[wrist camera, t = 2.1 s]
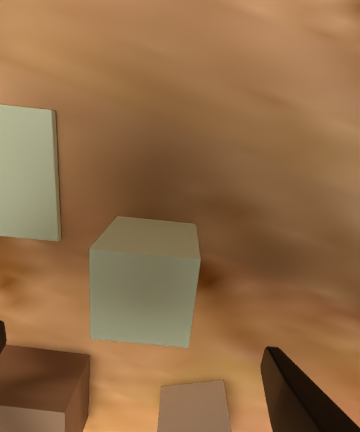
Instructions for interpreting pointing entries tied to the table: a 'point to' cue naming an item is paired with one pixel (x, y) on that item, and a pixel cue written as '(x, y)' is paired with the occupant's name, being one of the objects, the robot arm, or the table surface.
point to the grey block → (194, 408)
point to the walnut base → (43, 390)
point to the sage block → (144, 282)
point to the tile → (29, 174)
